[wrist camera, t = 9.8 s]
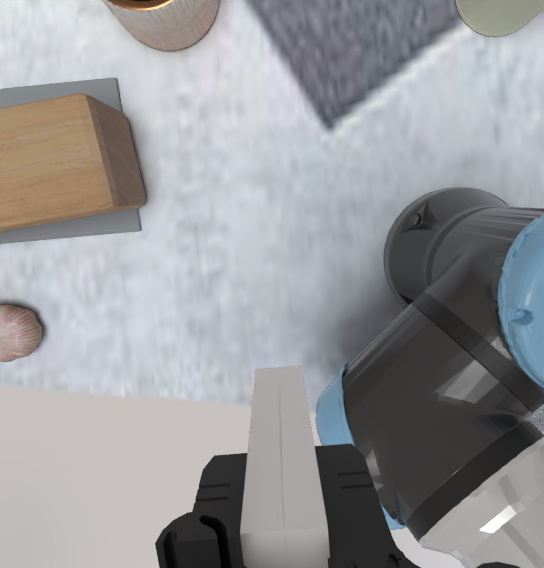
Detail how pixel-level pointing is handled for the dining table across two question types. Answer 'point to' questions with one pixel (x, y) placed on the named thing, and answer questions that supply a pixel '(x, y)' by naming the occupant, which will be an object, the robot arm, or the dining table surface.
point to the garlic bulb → (17, 332)
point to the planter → (165, 20)
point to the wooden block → (65, 162)
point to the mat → (85, 226)
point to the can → (498, 15)
